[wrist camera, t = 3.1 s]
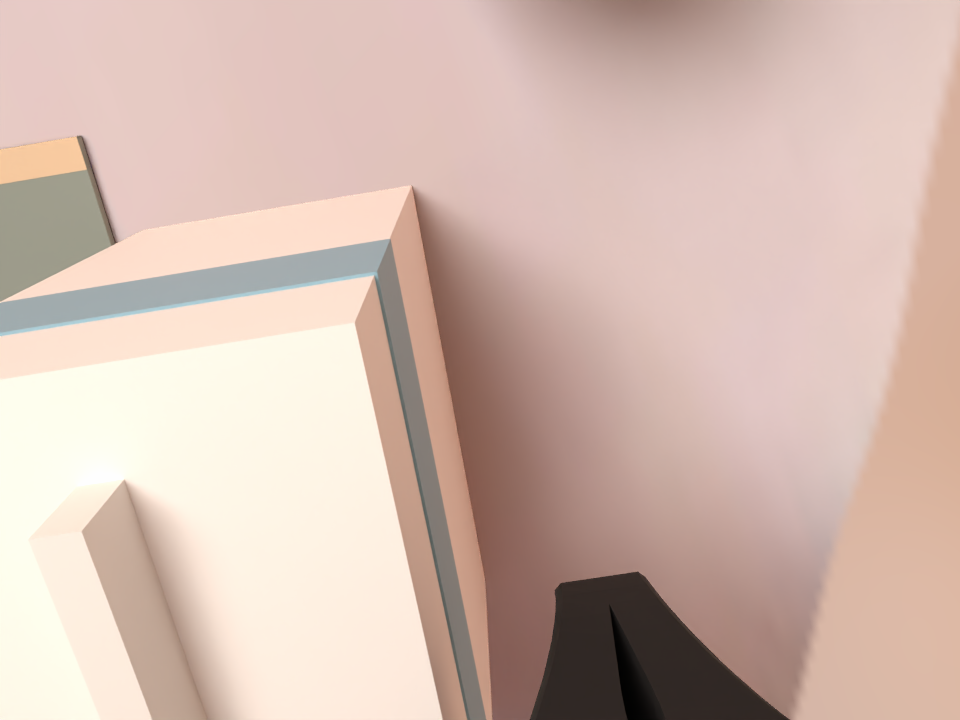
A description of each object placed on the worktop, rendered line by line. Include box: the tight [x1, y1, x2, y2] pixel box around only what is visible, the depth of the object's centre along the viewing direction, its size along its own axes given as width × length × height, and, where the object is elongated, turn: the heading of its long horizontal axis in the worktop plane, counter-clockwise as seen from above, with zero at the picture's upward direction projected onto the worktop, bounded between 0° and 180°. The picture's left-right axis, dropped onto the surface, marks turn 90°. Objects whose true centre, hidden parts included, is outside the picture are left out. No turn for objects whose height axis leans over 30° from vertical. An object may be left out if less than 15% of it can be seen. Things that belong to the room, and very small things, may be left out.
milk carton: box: [0, 185, 492, 720], centre depth 17 cm, size 12×7×13 cm, turn 9°
